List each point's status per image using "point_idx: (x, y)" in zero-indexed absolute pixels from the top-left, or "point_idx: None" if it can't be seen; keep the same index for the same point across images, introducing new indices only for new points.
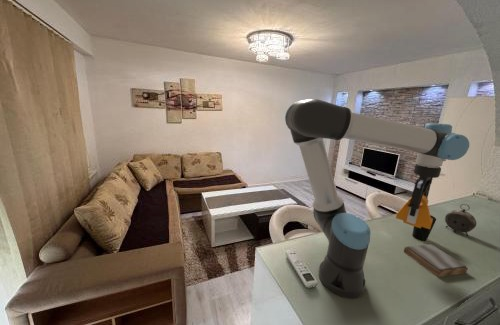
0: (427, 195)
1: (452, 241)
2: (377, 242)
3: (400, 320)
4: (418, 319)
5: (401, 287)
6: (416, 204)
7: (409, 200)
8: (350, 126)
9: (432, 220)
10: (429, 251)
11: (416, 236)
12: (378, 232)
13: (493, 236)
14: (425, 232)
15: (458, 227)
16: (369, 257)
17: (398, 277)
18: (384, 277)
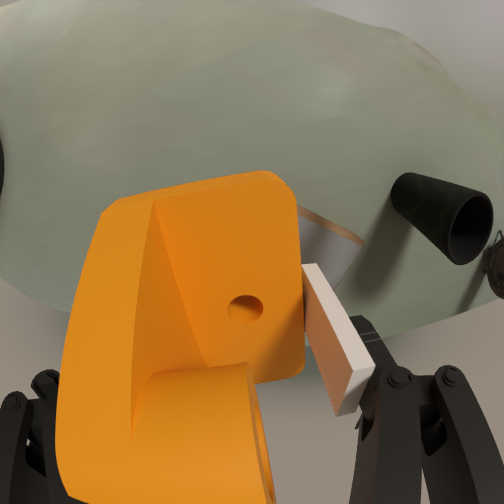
0: (422, 458)
1: (445, 260)
2: (224, 94)
3: (6, 281)
4: (33, 298)
5: (65, 252)
6: (27, 457)
7: (60, 425)
8: None
9: (260, 382)
10: (301, 257)
11: (398, 190)
12: (318, 68)
13: (497, 296)
14: (413, 222)
15: (495, 263)
16: (92, 134)
17: (90, 232)
18: (55, 212)
